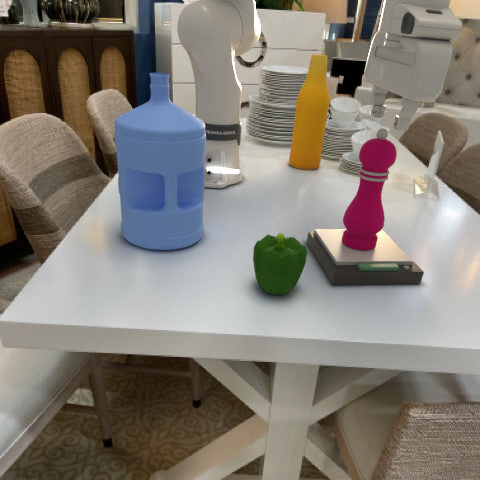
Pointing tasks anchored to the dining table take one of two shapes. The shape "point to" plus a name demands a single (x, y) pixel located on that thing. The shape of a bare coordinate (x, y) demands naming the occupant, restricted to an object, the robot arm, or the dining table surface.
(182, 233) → the water jug
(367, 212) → the pepper mill
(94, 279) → the dining table surface
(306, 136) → the beer bottle
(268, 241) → the bell pepper
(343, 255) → the scale
